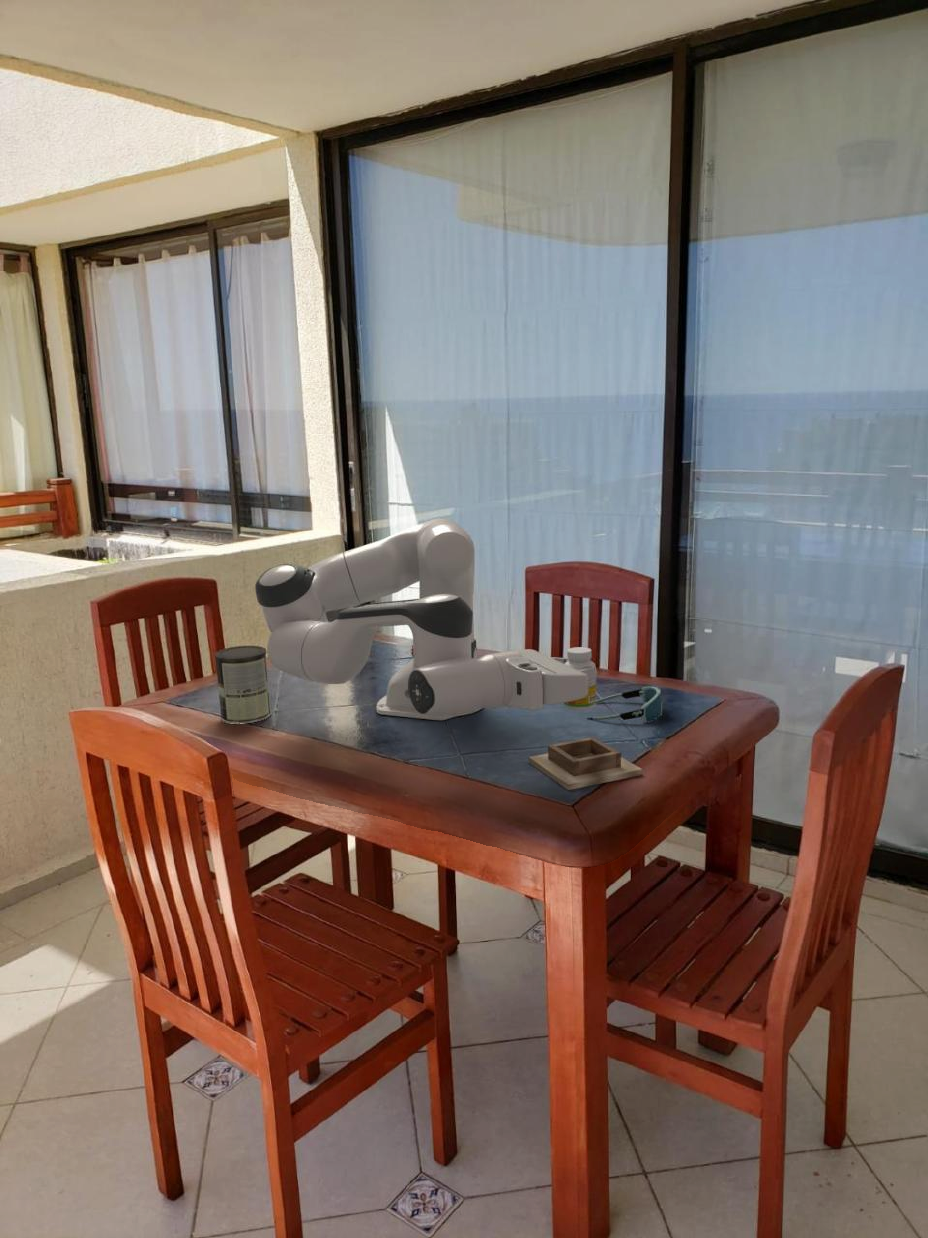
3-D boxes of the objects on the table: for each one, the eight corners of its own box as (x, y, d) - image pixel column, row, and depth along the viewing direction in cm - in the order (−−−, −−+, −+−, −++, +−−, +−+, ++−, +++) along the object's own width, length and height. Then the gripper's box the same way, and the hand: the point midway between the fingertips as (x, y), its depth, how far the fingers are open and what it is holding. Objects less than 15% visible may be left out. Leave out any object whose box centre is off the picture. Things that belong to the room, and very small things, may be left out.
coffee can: (210, 720, 192) (203, 654, 189) (248, 706, 201) (242, 643, 198) (244, 728, 186) (238, 660, 184) (281, 714, 195) (276, 648, 192)
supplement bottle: (561, 702, 159) (560, 646, 157) (592, 700, 159) (591, 645, 157) (566, 711, 153) (566, 654, 151) (599, 710, 154) (598, 653, 152)
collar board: (568, 790, 150) (568, 769, 149) (528, 762, 163) (528, 743, 162) (641, 774, 155) (642, 755, 155) (598, 749, 168) (598, 730, 167)
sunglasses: (664, 725, 180) (661, 701, 179) (587, 733, 183) (584, 709, 182) (663, 703, 193) (660, 680, 192) (591, 710, 197) (588, 688, 196)
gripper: (483, 681, 160) (554, 671, 165) (538, 714, 142) (616, 701, 147) (482, 646, 159) (554, 636, 164) (537, 674, 140) (616, 662, 145)
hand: (584, 667), depth 155 cm, fingers closed on supplement bottle, 5 cm apart
